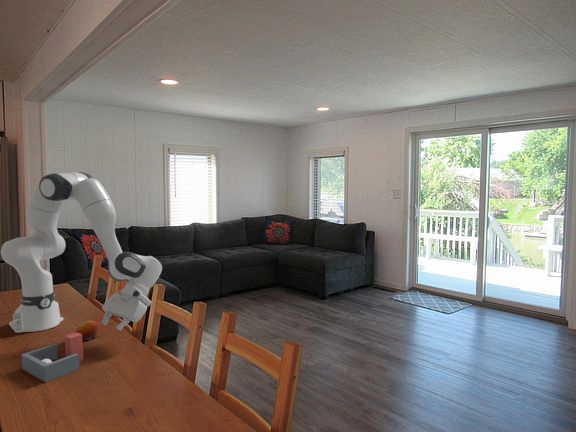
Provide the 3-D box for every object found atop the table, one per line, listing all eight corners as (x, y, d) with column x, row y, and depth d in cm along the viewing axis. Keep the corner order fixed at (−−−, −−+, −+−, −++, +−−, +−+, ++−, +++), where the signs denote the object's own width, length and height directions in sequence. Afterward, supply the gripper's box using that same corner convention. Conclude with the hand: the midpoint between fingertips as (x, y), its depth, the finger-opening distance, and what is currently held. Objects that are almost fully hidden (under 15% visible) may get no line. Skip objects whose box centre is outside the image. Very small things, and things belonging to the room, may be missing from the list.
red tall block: (65, 361, 139) (64, 335, 139) (77, 356, 143) (76, 331, 142) (71, 364, 137) (70, 338, 136) (83, 359, 140) (82, 334, 139)
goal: (22, 369, 134) (21, 354, 133) (55, 357, 142) (54, 343, 142) (45, 382, 125) (44, 366, 124) (79, 369, 133) (78, 354, 133)
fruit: (93, 339, 154) (82, 321, 155) (78, 348, 156) (68, 330, 156) (107, 331, 162) (96, 314, 163) (92, 340, 164) (82, 323, 164)
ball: (45, 370, 134) (33, 368, 131) (51, 358, 135) (40, 356, 132) (51, 374, 132) (39, 372, 129) (57, 361, 133) (46, 359, 130)
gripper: (112, 286, 162) (89, 317, 155) (143, 294, 150) (120, 328, 143) (122, 294, 166) (101, 325, 159) (154, 303, 154) (132, 336, 147)
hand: (110, 326), depth 151 cm, fingers open, 8 cm apart
